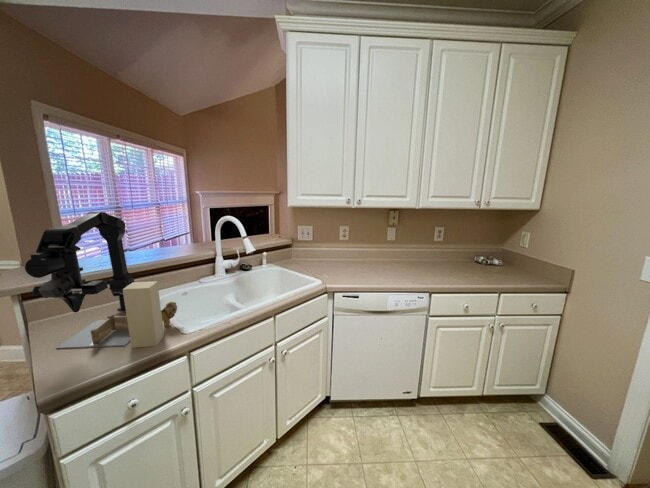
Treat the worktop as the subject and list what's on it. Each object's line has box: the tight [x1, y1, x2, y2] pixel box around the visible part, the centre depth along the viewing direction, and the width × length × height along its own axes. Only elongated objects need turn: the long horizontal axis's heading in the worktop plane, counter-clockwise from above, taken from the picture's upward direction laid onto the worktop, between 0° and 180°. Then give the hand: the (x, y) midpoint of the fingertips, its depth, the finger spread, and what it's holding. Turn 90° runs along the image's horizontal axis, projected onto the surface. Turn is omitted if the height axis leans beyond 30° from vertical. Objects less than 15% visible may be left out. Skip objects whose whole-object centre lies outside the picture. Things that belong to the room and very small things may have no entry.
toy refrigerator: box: [123, 280, 165, 349], centre depth 92 cm, size 8×7×21 cm
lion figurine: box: [161, 301, 178, 329], centre depth 101 cm, size 15×5×9 cm, turn 140°
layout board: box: [56, 319, 131, 350], centre depth 99 cm, size 18×22×1 cm
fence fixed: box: [106, 314, 129, 331], centre depth 100 cm, size 2×11×6 cm, turn 95°
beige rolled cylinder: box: [91, 318, 112, 345], centre depth 94 cm, size 2×9×5 cm, turn 9°
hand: (76, 311), depth 89 cm, fingers closed
